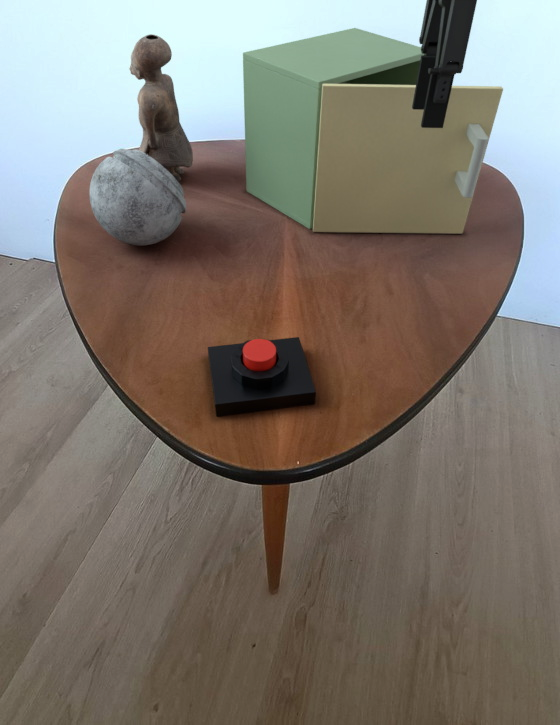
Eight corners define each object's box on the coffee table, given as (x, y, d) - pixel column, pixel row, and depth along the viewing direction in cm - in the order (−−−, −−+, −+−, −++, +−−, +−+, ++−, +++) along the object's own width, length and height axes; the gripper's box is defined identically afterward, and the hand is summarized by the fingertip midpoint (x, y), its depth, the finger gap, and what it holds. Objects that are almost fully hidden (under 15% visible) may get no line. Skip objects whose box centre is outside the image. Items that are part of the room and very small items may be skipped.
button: (273, 347, 69) (273, 336, 68) (278, 369, 66) (278, 359, 65) (241, 351, 68) (240, 340, 67) (245, 373, 66) (245, 363, 64)
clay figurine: (153, 162, 114) (132, 24, 97) (200, 164, 114) (188, 26, 96) (135, 191, 105) (109, 44, 87) (187, 195, 104) (171, 47, 87)
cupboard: (407, 186, 108) (432, 50, 92) (309, 229, 96) (319, 82, 79) (342, 155, 118) (354, 27, 101) (246, 191, 106) (242, 52, 89)
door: (471, 252, 92) (516, 103, 75) (314, 250, 91) (325, 100, 75) (461, 230, 96) (501, 86, 80) (312, 229, 96) (322, 83, 80)
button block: (298, 349, 74) (299, 326, 71) (315, 404, 67) (317, 381, 64) (208, 359, 72) (206, 336, 70) (216, 416, 65) (214, 393, 63)
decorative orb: (206, 238, 94) (198, 151, 83) (137, 274, 86) (119, 183, 75) (151, 208, 101) (137, 124, 90) (82, 239, 93) (59, 151, 82)
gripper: (419, -119, 64) (388, 92, 80) (457, -104, 51) (411, 146, 67) (483, -117, 64) (439, 93, 80) (538, -102, 51) (472, 147, 67)
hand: (426, 117), depth 74 cm, fingers open, 6 cm apart
